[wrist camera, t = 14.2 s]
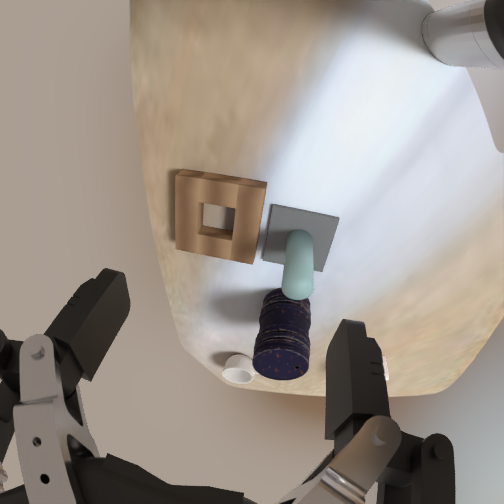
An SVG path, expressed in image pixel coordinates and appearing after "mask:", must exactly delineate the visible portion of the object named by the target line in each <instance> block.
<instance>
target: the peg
mask: <svg viewBox="0 0 504 504" xmlns="http://www.w3.org/2000/svg"><path fill="white" fill-rule="evenodd" d="M313 290H314V268H313V239H312V236H311V235H310V233H308V232H307V231H305V230H295V231H292V232H291V233H290V234H289V235H288V237H287V243H286V253H285V262H284V271H283V279H282V292H283V293H284V295H285V296H287V297H288V298H290V299H294V300H302V299H306V298H308V297H309V296H310V295H311V294H312V293H313Z"/></svg>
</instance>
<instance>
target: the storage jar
mask: <svg viewBox="0 0 504 504" xmlns="http://www.w3.org/2000/svg"><path fill="white" fill-rule="evenodd" d="M259 324H260V330H259V333H258V335H257V337H256V341H255V346H254V356H253V360H252V366H253V368H254V369H255V371H257V372H258V373H259V374H260V375H262V376H264V377H267V378H270V379H274V380H292V379H296V378H299V377H301V376H303V375H304V374H305V373H306V372H307V371H308V368H309V357H310V340H309V337H308V335H309V329H310V325H311V313H310V302H309V299H308V298H306V299H302V300H294V299H290V298H288V297H287V296H285V295H284V293H283V292H282V288H279V289H276V290H273V291H271V292H270V293H268V294H267V295H266V297H265V298H264V301H263V307H262V309H261V314H260V318H259Z"/></svg>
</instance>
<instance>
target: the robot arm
mask: <svg viewBox="0 0 504 504" xmlns="http://www.w3.org/2000/svg"><path fill="white" fill-rule="evenodd" d="M422 34H423V39H424V41H425V44H426V46H427V47H428V49H429V51H430V52H431V53H432V54H433V55H434V56H435V57H436V58H437V59H438V60H439V61H441V62H442V63H445V64H447V65H450V66H461V67H475V68H487V69H496V70H504V0H469V1H466V2H463V3H459V4H456V5H453V6H450V7H447V8H444V9H441V10H438V11H436V12H433V13H431V14H429V15H428V16H427V17H426V18H425V20H424V21H423V25H422ZM129 311H130V298H129V293H128V288H127V283H126V277H125V274H124V273H123V272H119V271H115V270H111V269H108V268H105V269H103V270H102V271H101V272H100V274H99V275H98V276H97V277H96V279H93V278H91V279H89V280H88V281H86V282H85V283H83V284H82V285H81V286H80V287H79V288H78V289H77V291H76V292H75V293H74V294H73V297H71V298H70V300H69V301H68V302H67V305H65V306H64V307H63V309H62V310H61V311H60V313H59V314H58V315H57V317H56V318H55V319H54V321H53V322H52V324H51V325H50V326H49V328H48V329H47V331H46V332H45V333H44V334H43V335H42V334H36V335H33V336H30V337H29V338H28V339H26V340H25V341H24V342H23V341H15V340H9V339H7V337H6V336H5V334H4V332H3V331H2V330H0V379H1V380H2V381H1V383H0V504H257V503H255V502H253V501H252V500H250V499H247V498H245V497H243V496H244V493H240V492H234V491H229V490H224V489H219V488H214V487H210V486H181V485H171V484H168V483H166V482H164V481H162V480H160V479H159V478H157V477H156V476H154V475H152V474H151V473H149V472H147V471H146V470H144V469H143V468H141V467H140V466H138V465H135V464H133V463H130V462H128V461H125V460H123V459H120V458H118V457H115V456H113V455H110V454H108V453H107V456H106V458H103V457H100V456H99V452H98V449H97V446H96V444H95V441H94V439H93V438H92V436H91V434H90V432H89V429H88V426H87V422H86V418H85V413H84V409H83V404H82V399H81V394H80V389H79V385H78V382H79V381H80V379H81V378H84V379H86V380H88V381H90V382H91V381H92V379H93V377H94V375H95V373H96V371H97V369H98V367H99V366H100V364H101V362H102V360H103V358H104V356H105V355H106V353H107V351H108V349H109V347H110V346H111V344H112V342H113V340H114V339H115V337H116V335H117V333H118V332H119V330H120V328H121V326H122V325H123V323H124V321H125V320H126V318H127V316H128V314H129ZM384 374H385V371H384V366H383V358H382V352H381V349H380V347H379V346H378V344H377V342H376V341H375V339H374V338H368V337H367V335H366V328H365V324H364V322H360V321H353V320H347V319H343V320H342V321H341V323H340V325H339V327H338V329H337V331H336V333H335V335H334V337H333V338H332V340H331V342H330V344H329V347H328V350H327V355H326V418H325V439H326V440H327V439H328V440H334V449H333V450H332V451H331V452H330V453H329V454H328V455H327V456H326V457H325V458H324V459H323V461H322V462H321V463H320V464H319V465H318V466H317V467H316V468H315V469H314V470H313V471H312V472H311V473H310V474H309V475H308V476H307V477H306V478H305V479H304V480H303V481H302V482H301V483H300V484H299V485H298V486H296V487H295V488H294V489H293V490H291V491H290V492H289V493H288V494H286V495H285V496H284V497H283V498H282V499H281V500H279V501H278V502H277V503H276V504H365V499H364V497H365V495H366V493H367V492H368V491H369V489H370V488H371V486H372V485H373V484H374V482H375V481H376V482H378V492H377V503H376V504H455V466H454V451H453V446H452V443H451V441H450V440H449V439H448V438H447V437H446V436H445V435H442V434H438V433H436V434H432V435H430V436H428V437H427V438H425V439H423V438H420V437H417V436H413V435H410V434H407V433H405V432H403V431H401V430H400V427H399V426H398V424H397V423H396V422H395V421H394V420H393V419H391V416H390V411H389V402H388V393H387V385H386V378H385V376H384ZM14 431H15V436H16V443H17V449H18V455H19V461H20V466H21V471H22V475H23V480H24V484H23V485H21V486H18V487H16V488H13V489H11V490H8V491H4V488H3V482H6V481H7V478H8V476H7V473H6V471H5V470H3V466H2V462H3V459H4V457H5V454H6V452H7V449H8V446H9V444H10V441H11V439H12V436H13V434H14Z"/></svg>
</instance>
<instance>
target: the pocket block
mask: <svg viewBox="0 0 504 504" xmlns="http://www.w3.org/2000/svg"><path fill="white" fill-rule="evenodd" d="M266 187H267V182H262V181H257V180H251V179H245V178H239V177H233V176H227V175H220V174H214V173H207V172H200V171H193V170H185V169H182V170H181V171H180V172H179V173H177V174H176V175H175V242H176V249H177V250H182V251H187V252H192V253H197V254H202V255H207V256H212V257H217V258H222V259H227V260H232V261H237V262H242V263H247V264H252V265H253V262H254V258H255V253H256V247H257V241H258V235H259V229H260V223H261V217H262V211H263V205H264V199H265V193H266ZM204 203H207V204H213V205H219V206H225V207H230V208H236V210H235V219H234V228H233V231H229V230H224V229H219V228H213V227H208V226H202V225H203V205H204Z"/></svg>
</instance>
